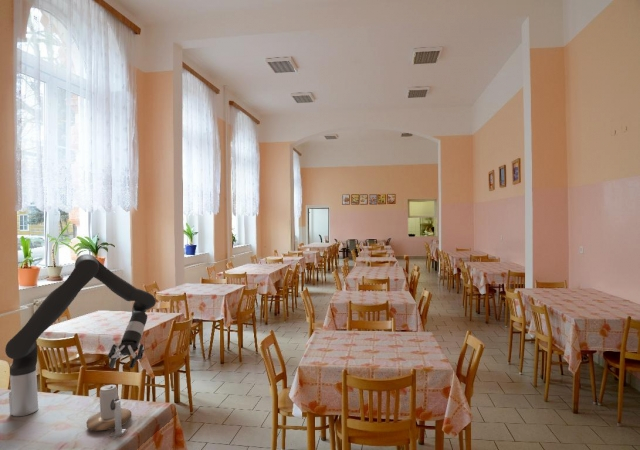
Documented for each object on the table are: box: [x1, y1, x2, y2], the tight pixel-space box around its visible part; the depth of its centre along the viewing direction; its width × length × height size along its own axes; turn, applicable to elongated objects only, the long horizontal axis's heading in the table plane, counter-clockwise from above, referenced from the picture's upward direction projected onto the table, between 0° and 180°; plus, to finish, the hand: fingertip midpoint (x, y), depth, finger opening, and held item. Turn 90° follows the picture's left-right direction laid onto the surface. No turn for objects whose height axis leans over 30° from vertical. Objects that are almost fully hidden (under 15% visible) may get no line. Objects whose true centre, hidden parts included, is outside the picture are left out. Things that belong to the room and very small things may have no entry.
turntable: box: [85, 408, 133, 432], centre depth 170 cm, size 16×16×1 cm
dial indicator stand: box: [110, 398, 128, 438], centre depth 162 cm, size 4×5×13 cm
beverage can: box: [99, 384, 119, 420], centre depth 171 cm, size 6×6×12 cm
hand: (120, 367), depth 183 cm, fingers open, 8 cm apart
